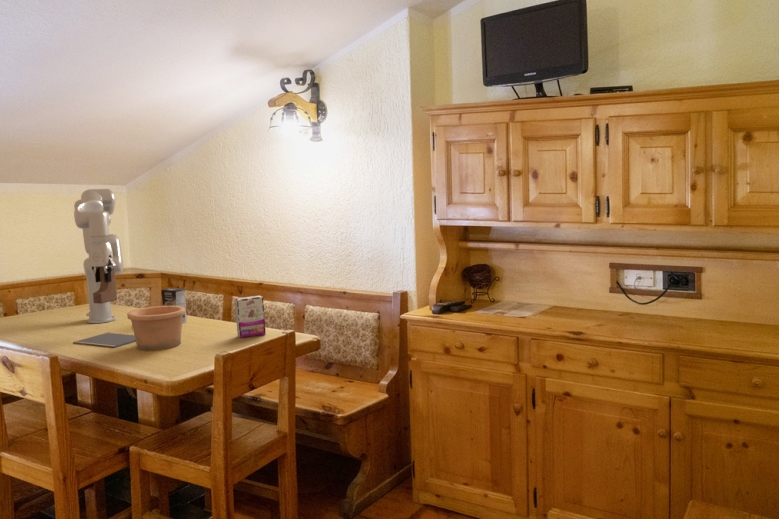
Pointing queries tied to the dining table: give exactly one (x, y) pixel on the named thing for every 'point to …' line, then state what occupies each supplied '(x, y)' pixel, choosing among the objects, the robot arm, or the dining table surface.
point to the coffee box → (174, 299)
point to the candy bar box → (250, 316)
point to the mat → (108, 340)
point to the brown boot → (105, 288)
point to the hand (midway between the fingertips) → (103, 281)
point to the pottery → (157, 327)
